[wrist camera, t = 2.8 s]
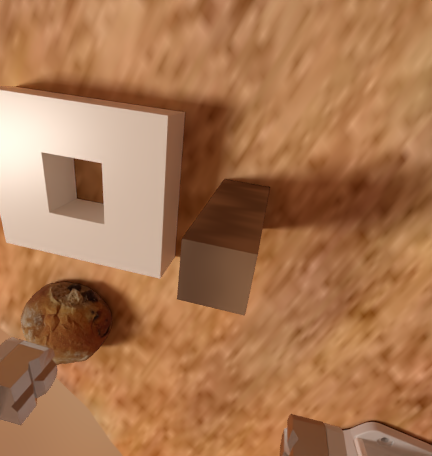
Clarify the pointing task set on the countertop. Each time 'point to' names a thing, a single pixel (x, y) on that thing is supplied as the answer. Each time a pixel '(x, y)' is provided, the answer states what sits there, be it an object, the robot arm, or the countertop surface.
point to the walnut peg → (223, 248)
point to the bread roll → (67, 321)
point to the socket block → (111, 173)
